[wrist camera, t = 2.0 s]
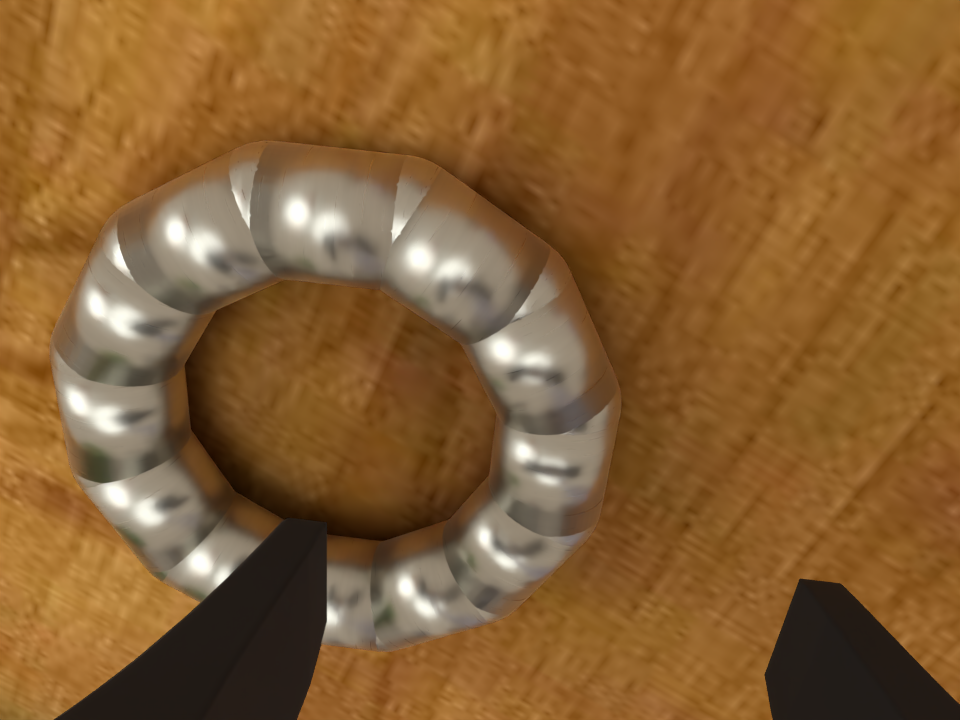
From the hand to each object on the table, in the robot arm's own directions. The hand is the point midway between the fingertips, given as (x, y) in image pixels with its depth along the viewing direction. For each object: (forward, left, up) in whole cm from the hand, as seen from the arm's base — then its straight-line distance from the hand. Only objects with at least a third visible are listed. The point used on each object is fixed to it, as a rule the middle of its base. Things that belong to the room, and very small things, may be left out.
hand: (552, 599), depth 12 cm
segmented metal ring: (0, +4, -4) cm, 6 cm away
